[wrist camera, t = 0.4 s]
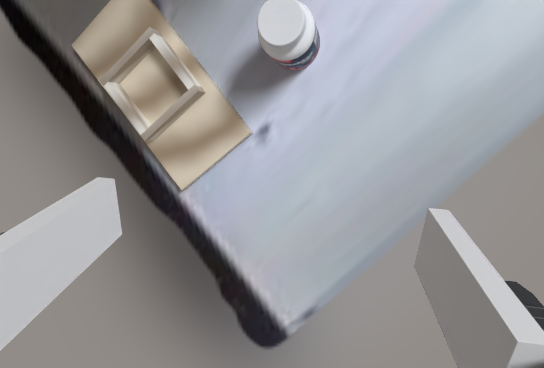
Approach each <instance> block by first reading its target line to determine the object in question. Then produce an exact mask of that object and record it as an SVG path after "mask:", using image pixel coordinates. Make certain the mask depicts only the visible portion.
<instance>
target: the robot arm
mask: <svg viewBox="0 0 544 368" xmlns="http://www.w3.org/2000/svg"><path fill="white" fill-rule="evenodd" d="M118 209H119V208H118V201H117V194H116V187H115V180H114V179H110V178H99V177H98V178H96V179H94V180H93V181H91V182H89V183H88V184H86V185H84V186H82V187H81V188H79V189H77V190H76V191H74V192H72V193H71V194H69V195H68V196H66V197H64V198H62V199H61V200H59V201H57V202H56V203H54V204H52V205H51V206H49V207H47V208H45V209H44V210H42V211H40V212H39V213H37V214H36V215H34V216H32V217H30V218H29V219H27V220H25V221H24V222H22V223H20V224H19V225H17V226H15V227H14V228H12V229H10V230H9V231H6V232H3V233H1V234H0V350H1V349H3V348H4V347H5V345H7V344H8V343H9V342H10V341H11V340H12V339H13V338H14V337H15V336H16V335H17V334H18V333H19V332H20V331H21V330H22V329H23V328H24V327H26V326H27V325H28V324H29V323H30V322H31V321H32V320H33V319H34V318H35V317H36V316H37V315H38V314H39V313H40V312H41V311H42V310H43V309H44V308H45V307H46V306H48V304H50V303H51V302H52V301H53V300H54V299H55V298H56V297H57V296H58V295H59V294H60V293H61V292H62V291H63V290H64V289H65V288H66V287H67V286H68V285H69V284H71V283H72V282H73V281H74V280H75V279H76V278H77V277H78V276H79V275H80V274H81V273H82V272H83V271H84V270H85V269H86V268H87V267H88V266H89V265H90V264H91V263H92V262H93V261H94V260H96V259H97V258H98V257H99V256H100V255H101V254H102V253H103V252H104V251H105V250H106V249H107V248H108V247H109V246H110V245H111V244H112V243H113V242H114V241H115V240H116V239H117V238H119V237H120V236H121V235H122V230H121V223H120V215H119V210H118ZM414 267H415V269H416V272H417V274H418V276H419V279H420V281H421V283H422V286H423V288H424V290H425V293H426V295H427V297H428V299H429V302H430V304H431V307H432V309H433V311H434V314H435V316H436V318H437V321H438V323H439V325H440V327H441V330H442V332H443V335H444V337H445V339H446V341H447V344H448V346H449V348H450V351H451V353H452V355H453V358H454V360H455V362H456V365H457V367H458V368H544V306H543V305H542V304H541V303H540V302H539V301H538V300H537V298H536V297H535V296H534V295H533V294H532V293H531V292H529V291H528V290H527V289H525V288H524V287H522V286H521V285H520V284H518V283H517V282H512V281H504V280H503V279H502V277H501V276H500V275H499V274H498V272H497V271H496V270H495V269H494V267H493V266H492V265H491V264H490V262H489V261H488V260H487V258H486V257H485V256H484V255H483V253H482V252H481V251H480V249H479V248H478V247H477V246H476V244H475V243H474V242H473V241H472V239H471V238H470V237H469V236H468V234H467V233H466V232H465V230H464V229H463V228H462V227H461V225H460V224H459V223H458V222H457V220H456V219H455V218H454V216H453V215H452V214H451V213H450V211H449V210H443V209H432V208H428V211H427V215H426V219H425V224H424V228H423V232H422V236H421V240H420V244H419V248H418V252H417V257H416V260H415V265H414Z"/></svg>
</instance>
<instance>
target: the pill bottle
mask: <svg viewBox="0 0 544 368" xmlns="http://www.w3.org/2000/svg"><path fill="white" fill-rule="evenodd" d="M257 25H258V37H259V41H260V44H261V46H262V48H263V49H264V51H265V52H266V53H267V54H268V55H269V56H270V57H271V58H272V59H274V60H275V61H276V62H277V63H278V64H279V65H281V66H282V67H284V68H286V69H289V70H299V69H302V68H305V67H307V66H308V65H310V64H311V63H312V62H313V61H314V59H315V58H316V56H317V54H318V52H319V48H320V37H319V33H318V30H317V27H316V24H315V21H314V18H313V15H312V13H311V12H310V10H309V9H308V8H307V7H306V6H305V5H304V4H303V3H301V2H300V1H297V0H267V1H266V2H265V3H264V4H263V6H262V7H261V9H260V11H259V14H258V19H257Z"/></svg>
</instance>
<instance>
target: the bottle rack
mask: <svg viewBox="0 0 544 368" xmlns="http://www.w3.org/2000/svg"><path fill="white" fill-rule="evenodd" d="M71 46H72V47H73V48H74V49H75V51H76V52H77V53H78V55H79V56H80V57H81V59H82V60H83V61H84V63H85V64H86V65H87V67H88V68H89V69H90V71H91V72H92V73H93V74H94V76H95V77H96V78H97V80H98V81H99V82H100V84H101V85H102V86H103V88H104V89H105V90H106V92H107V93H108V94H109V96H110V97H111V98H112V100H113V101H114V102H115V103H116V105H117V106H118V107H119V109H120V110H121V111H122V113H123V114H124V115H125V117H126V118H127V119H128V121H129V122H130V123H131V125H132V126H133V127H134V128H135V130H136V131H137V132H138V134H139V135H140V136H141V138H142V139H143V140H144V142H145V143H146V144H147V146H148V147H149V148H150V150H151V151H152V152H153V153H154V155H155V156H156V157H157V159H158V160H159V161H160V163H161V164H162V165H163V167H164V168H165V169H166V171H167V172H168V173H169V175H170V176H171V177H172V178H173V180H174V181H175V182H176V184H177V185H178V186H179V188H180V189H181V190H184V189H187V188H188V187H189V186H190V185H191V184H193V183H194V182H195V181H196V180H197V179H199V178H200V177H201V176H202V175H203V174H205V173H206V172H207V171H208V170H209V169H211V168H212V167H213V166H214V165H215V164H216V163H218V162H219V161H220V160H221V159H222V158H224V157H225V156H226V155H227V154H228V153H230V152H231V151H232V150H233V149H234V148H236V147H237V146H238V145H239V144H240V143H242V142H243V141H244V140H245V139H246V138H248V137H249V136H250V135H251V134H252V131H251V130H250V129H249V127H248V126H247V125H246V123H245V122H244V121H243V120H242V118H241V117H240V116H239V114H238V113H237V112H236V110H235V109H234V108H233V106H232V105H231V104H230V102H229V101H228V100H227V99H226V97H225V96H224V95H223V93H222V92H221V91H220V89H219V88H218V87H217V85H216V84H215V83H214V81H213V80H212V79H211V78H210V76H209V75H208V74H207V72H206V71H205V70H204V68H203V67H202V66H201V64H200V63H199V62H198V60H197V59H196V58H195V57H194V55H193V54H192V53H191V51H190V50H189V49H188V47H187V46H186V45H185V43H184V42H183V41H182V40H181V38H180V37H179V36H178V34H177V33H176V32H175V30H174V29H173V28H172V26H171V25H170V24H169V22H168V21H167V20H166V19H165V17H164V16H163V15H162V13H161V12H160V11H159V9H158V8H157V7H156V5H155V4H154V3H153V1H152V0H110V1H109V3H108V4H107V5H106V6H105V7H104V8H103V9H102V11H101V12H100V13H99V14H98V15H97V16H96V18H95V19H94V20H93V21H92V22H91V23H90V24H89V26H88V27H87V28H86V29H85V30H84V31H83V33H82V34H81V35H80V36H79V37H78V38H77V39H76V41H75V42H74V43H73V44H72V45H71Z"/></svg>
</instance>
